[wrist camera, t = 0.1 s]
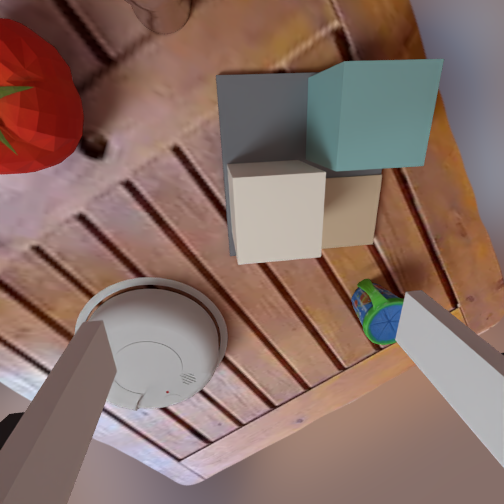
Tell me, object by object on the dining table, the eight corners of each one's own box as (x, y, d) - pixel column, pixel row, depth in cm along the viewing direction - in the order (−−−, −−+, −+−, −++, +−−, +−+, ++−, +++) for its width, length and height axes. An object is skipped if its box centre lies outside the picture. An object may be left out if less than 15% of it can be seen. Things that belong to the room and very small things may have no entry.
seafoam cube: (308, 77, 34) (344, 61, 25) (382, 75, 34) (444, 58, 25) (305, 159, 37) (336, 171, 28) (372, 155, 38) (423, 165, 29)
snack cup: (395, 311, 51) (424, 340, 44) (354, 329, 51) (376, 361, 44) (379, 258, 46) (408, 282, 39) (334, 280, 46) (355, 306, 40)
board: (215, 76, 33) (216, 74, 32) (390, 71, 35) (396, 69, 34) (229, 253, 42) (230, 256, 41) (368, 240, 44) (372, 244, 43)
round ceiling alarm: (196, 246, 42) (194, 266, 36) (252, 367, 52) (257, 396, 47) (34, 306, 42) (7, 334, 37) (121, 413, 53) (111, 448, 47)
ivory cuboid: (227, 164, 36) (232, 177, 27) (297, 159, 37) (326, 171, 28) (231, 232, 40) (238, 264, 31) (296, 227, 41) (320, 257, 32)
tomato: (54, 190, 36) (-3, 214, 26) (-64, 101, 31) (-185, 92, 21) (124, 105, 33) (89, 98, 24) (8, -7, 28) (-94, -72, 19)
